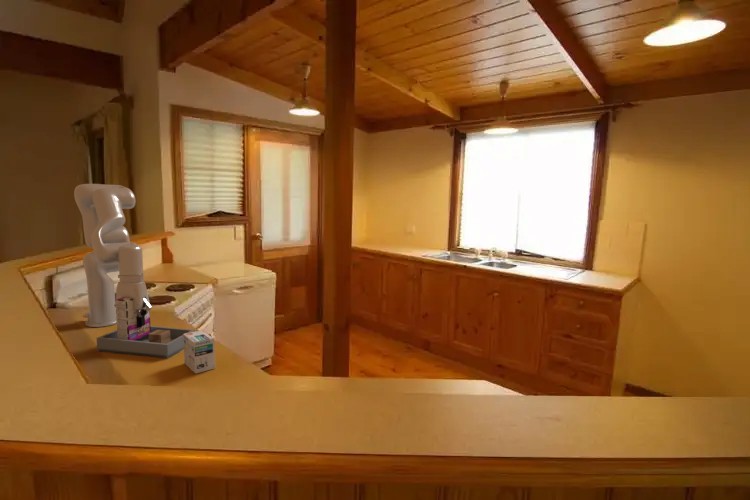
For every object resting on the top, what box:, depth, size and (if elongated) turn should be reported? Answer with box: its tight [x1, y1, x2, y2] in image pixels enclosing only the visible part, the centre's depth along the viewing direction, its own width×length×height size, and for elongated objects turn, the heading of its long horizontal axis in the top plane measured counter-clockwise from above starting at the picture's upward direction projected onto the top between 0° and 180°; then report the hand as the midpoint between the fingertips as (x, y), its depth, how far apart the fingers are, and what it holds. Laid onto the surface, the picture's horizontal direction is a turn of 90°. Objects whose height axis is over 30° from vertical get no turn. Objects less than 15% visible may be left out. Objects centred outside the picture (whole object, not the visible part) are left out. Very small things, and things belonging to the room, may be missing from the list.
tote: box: [96, 325, 196, 360], centre depth 146 cm, size 28×16×5 cm, turn 81°
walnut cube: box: [149, 330, 171, 344], centre depth 145 cm, size 5×5×5 cm
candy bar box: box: [115, 292, 152, 341], centre depth 146 cm, size 11×5×16 cm, turn 169°
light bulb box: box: [183, 329, 216, 374], centre depth 131 cm, size 11×7×11 cm, turn 44°
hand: (134, 325), depth 146 cm, fingers open, 5 cm apart
